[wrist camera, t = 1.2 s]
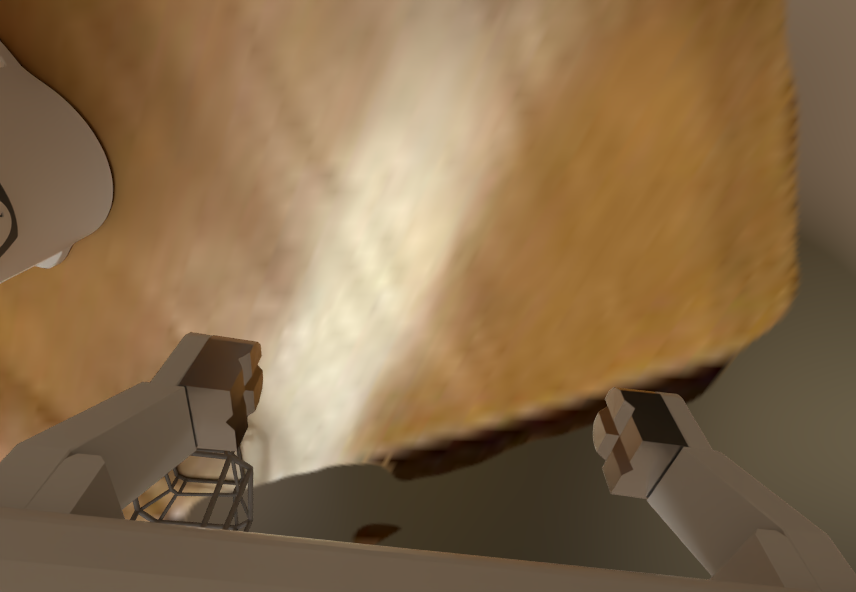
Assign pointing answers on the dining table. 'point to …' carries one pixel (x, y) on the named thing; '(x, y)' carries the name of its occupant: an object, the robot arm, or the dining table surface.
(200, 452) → the geometric lantern
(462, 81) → the dining table surface
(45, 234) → the robot arm
